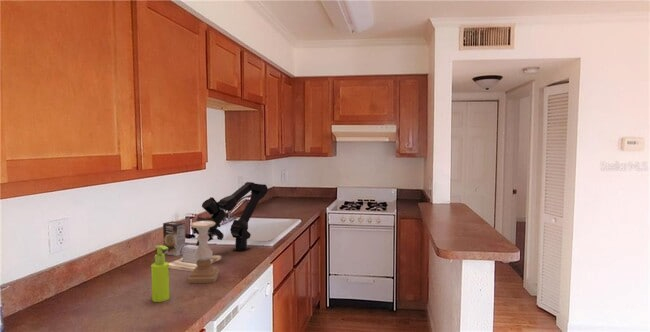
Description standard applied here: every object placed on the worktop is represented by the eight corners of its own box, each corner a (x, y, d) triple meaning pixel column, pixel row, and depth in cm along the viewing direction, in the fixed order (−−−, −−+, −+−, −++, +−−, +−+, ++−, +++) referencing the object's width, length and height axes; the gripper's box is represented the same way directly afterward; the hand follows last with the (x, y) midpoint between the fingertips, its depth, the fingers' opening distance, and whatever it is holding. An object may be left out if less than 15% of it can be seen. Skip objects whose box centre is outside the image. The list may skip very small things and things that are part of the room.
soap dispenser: (160, 304, 136) (159, 249, 135) (148, 299, 140) (147, 246, 139) (174, 298, 141) (173, 245, 140) (163, 294, 145) (161, 242, 144)
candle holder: (193, 274, 167) (192, 220, 165) (219, 273, 168) (218, 220, 166) (187, 283, 156) (186, 226, 154) (214, 282, 157) (213, 225, 155)
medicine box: (202, 264, 181) (201, 246, 180) (195, 267, 176) (195, 248, 176) (188, 262, 183) (188, 244, 183) (182, 264, 179) (181, 246, 179)
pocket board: (194, 255, 194) (194, 252, 194) (221, 258, 188) (221, 255, 188) (166, 267, 175) (165, 264, 175) (194, 271, 170) (194, 268, 170)
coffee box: (163, 254, 196) (162, 223, 195) (172, 250, 202) (171, 220, 201) (176, 256, 192) (176, 224, 191) (186, 252, 198) (185, 222, 197)
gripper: (194, 208, 190) (174, 234, 182) (218, 212, 180) (199, 240, 171) (207, 221, 197) (189, 247, 189) (231, 226, 187) (213, 253, 178)
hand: (197, 246), depth 182 cm, fingers closed
